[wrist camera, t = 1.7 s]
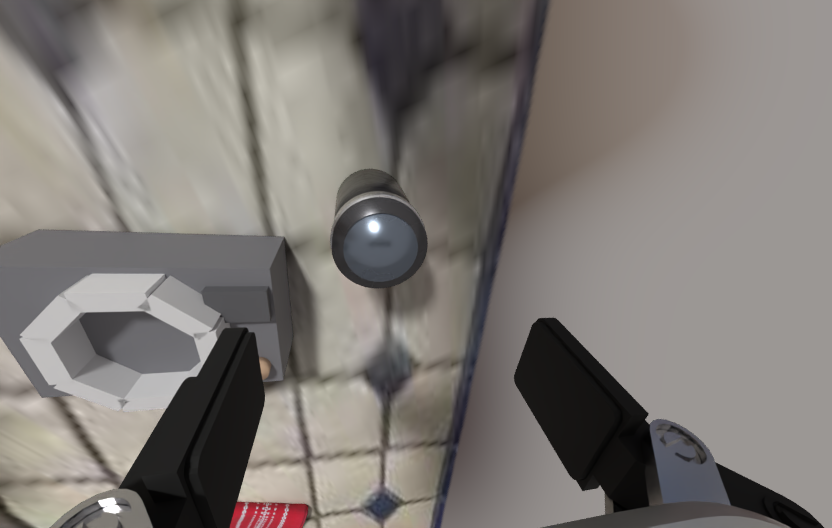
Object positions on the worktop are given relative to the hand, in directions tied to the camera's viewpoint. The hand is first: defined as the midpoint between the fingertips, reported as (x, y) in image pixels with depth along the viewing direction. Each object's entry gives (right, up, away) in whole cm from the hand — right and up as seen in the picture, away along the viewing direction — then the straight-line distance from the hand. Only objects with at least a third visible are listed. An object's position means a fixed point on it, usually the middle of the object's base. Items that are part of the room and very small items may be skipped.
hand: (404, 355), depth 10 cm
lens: (-3, +8, +13) cm, 16 cm away
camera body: (-18, +1, +14) cm, 22 cm away
